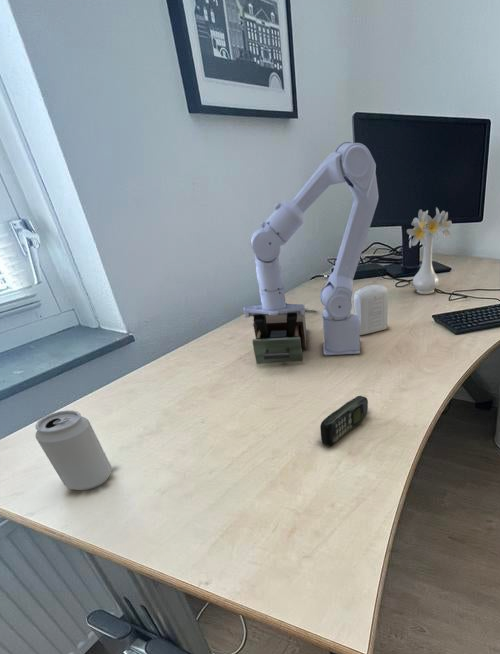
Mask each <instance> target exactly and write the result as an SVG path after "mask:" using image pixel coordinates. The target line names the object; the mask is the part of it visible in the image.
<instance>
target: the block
mask: <svg viewBox="0 0 500 654" xmlns="http://www.w3.org/2000/svg"><path fill="white" fill-rule="evenodd" d="M270 338H288V336H287V330H284V331H271V334H270Z"/></svg>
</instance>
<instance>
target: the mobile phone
mask: <svg viewBox="0 0 500 654" xmlns="http://www.w3.org/2000/svg"><path fill="white" fill-rule="evenodd" d="M368 409H369V401H368V398H367V397H365V396H364V395H358V396H355V397H354V398H352V399H351V400H349V401H347V402H345V403H344V404H343V405H341V406H340V407H339V408H337V409H336V410H334V411H333V412H332V413H330V414H329V415H328V416H327V417H325V418H324V419H323V420H322V421H321V423H320V427H319V428H320V440H321V442H322V444H323V445H324V446H327V447H331V446H333V445H334V444H335V443H336V442H337V441H339V440H340V439H341V438H342V437H344V436H345V435H346V434H348V433H349V432H350V431H352V430H353V429H355V428H356V427H357V426H359V425H360V424H361V423H362V422H363V420H364V419H365V417H366V416H367V414H368Z"/></svg>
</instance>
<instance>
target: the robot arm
mask: <svg viewBox="0 0 500 654" xmlns="http://www.w3.org/2000/svg"><path fill="white" fill-rule="evenodd" d="M376 168H377V163H376V161H375V159H374V157H373V155H372V153H371V151H370V150H369V148H368V147H367V146H366V145H364V144H363V143H361V142H351V141H343V142H341V143H340V144H338V146H337V147H336V149H335V151H332V152H331V153H330V154H329V155H327V156H326V157H325V159H324V160H323V161H322V162H321V163H320V164H319V165H318V167H317V168H316V170H315V171H314V172H313V174H311V176H310V177H309V178H308V179H307V181H306V182H305V183H304V185H302V187H301V188H300V190H299V191H298V193H297V194H296V195H295V196H294V198H293V199H292V200H290V199H284V200H282V201H281V202H279V201H278V202H276V203H275V205H274V206H273V208H274V209H275V210H273V212H272V213H271V214H270V215H269V217H268V218H267V219H266V220H265V221H263V220H262V221H261V222H260V223H259V226H260V228H258V229H256V230H255V231H254V232H253V233H252V235H251V239H250V245H251V248H252V249H251V250H252V251H253V253H254V263H255V265H256V266H255V272H256V273H255V274H256V278H257V284H258V290H259V296H260V302H261V304H259V305H253V306H251V305H250V306H244V307H243V314H244V318H246V319H247V318H250V317H253V323H255V325H256V326H257V327H258V329H259V330H260V332H261V334H262V336H263V338H264V339H269V335H268V331H267V324H266V316H271V315H287V325H288V331H289V337H293V331H294V327H295V324H296V321H297V314H301V315H305V316H306V312H305V310H306V308H305V304H304V303H303V304H301V303H300V304H299V303H298V304H297V303H287V302H286V296H285V287H284V280H283V272H282V271H283V270H282V266H281V265H280V258H279V256H280V253H281V247H282V246H284V245H285V244H286V243H287V242H288V241H289V240H290V239H291V238H292V237H293V235H294V234H295V233H296V232H297V231H298V230H299V229H300V228H301V226H302V225H303V224H304V213H306V211H307V210H308V209H309V208H310V207H311V206H312V205H313V204H314V202H316V200H318V198H319V197H320V196H321V195H323V193H324V192H325V191H326V190H327V189H328V188H329V187H330V186H333V185H337V184H342V183H346V184H347V187H348V189H349V191H350V192H351V195H352V198H353V202H352V205H351V209H350V212H349V215H348V219H347V223H346V227H345V229H344V233H343V237H342V240H341V244H340V246H339V251H338V253H337V257H336V261H335V264H334V268H333V271H331V274H330V275H329V276H328V278H327V282H326V283H325V285H324V286H323V287H322V288H321V290H320V294H319V298H320V299H319V300H320V302H321V304H322V306H323V307H324V309H323V312H322V313H321V315H322V318H321V319H322V329H323V330H322V331H323V341H324V342H322V347H323V356H337V355H338V356H339V355H340V356H341V355H357V354H361V346H360V345H361V335H359V319H358V315H354V313H352V312H351V311H352V307H353V304H352V303H353V302H352V298H353V294H354V278H355V274H356V272H357V268H358V266H359V263H360V259H361V257H362V253H363V249H364V246H365V244H366V240H367V237H368V234H369V231H370V228H371V225H372V221H373V218H374V215H375V212H376V209H377V205H378V202H379V197H380V196H379V188H378V182H377V181H378V180H377V174H376V171H377V169H376ZM286 303H287V304H286Z"/></svg>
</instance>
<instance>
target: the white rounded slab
mask: <svg viewBox="0 0 500 654" xmlns="http://www.w3.org/2000/svg"><path fill="white" fill-rule="evenodd" d="M352 298H353V299H352V300H353V314H354V315H358V319H359V336H365V335H368V334H371V333H375V332H381V331H383V330H387V329H388V314H389V313H388V311H389V309H388V308H389V307H388V305H389V293H388V289H387V287H386V286H383V285H379V284H371V285H367V286H364V287H361V288H360V289H357V290H356V291H355V292H353V296H352Z"/></svg>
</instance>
